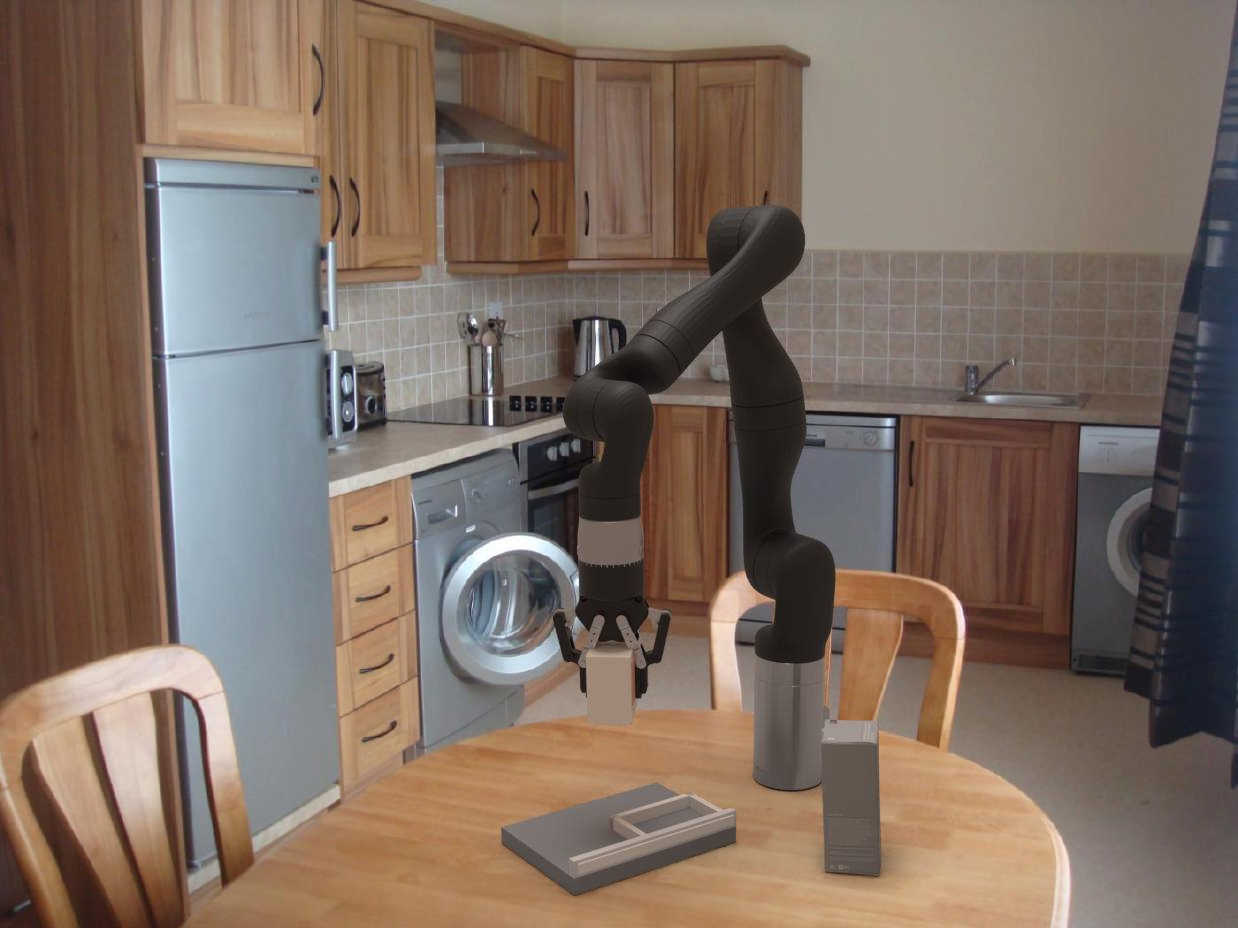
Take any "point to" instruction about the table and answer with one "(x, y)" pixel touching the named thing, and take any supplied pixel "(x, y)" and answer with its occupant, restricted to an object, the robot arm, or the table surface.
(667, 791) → the shelf deck
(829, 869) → the skincare box
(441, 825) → the table surface
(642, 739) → the table surface
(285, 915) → the table surface
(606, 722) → the cream box
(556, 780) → the table surface
